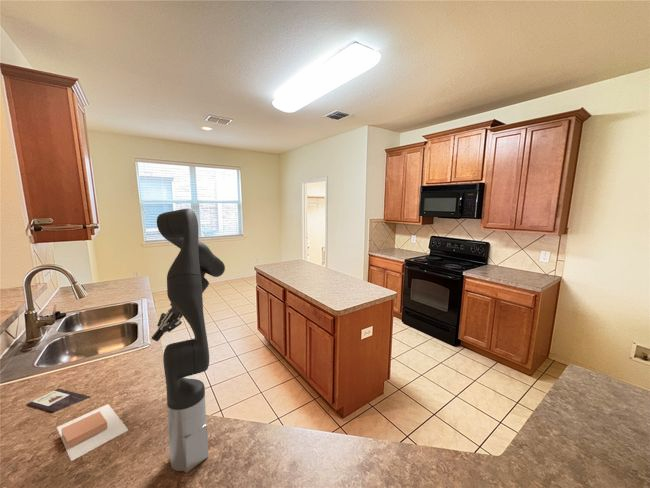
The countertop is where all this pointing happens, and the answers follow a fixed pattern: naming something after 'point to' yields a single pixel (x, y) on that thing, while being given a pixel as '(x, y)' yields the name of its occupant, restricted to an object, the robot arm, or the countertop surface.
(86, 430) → the block
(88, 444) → the mat
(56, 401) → the chocolate bar
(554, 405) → the countertop surface
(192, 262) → the robot arm
